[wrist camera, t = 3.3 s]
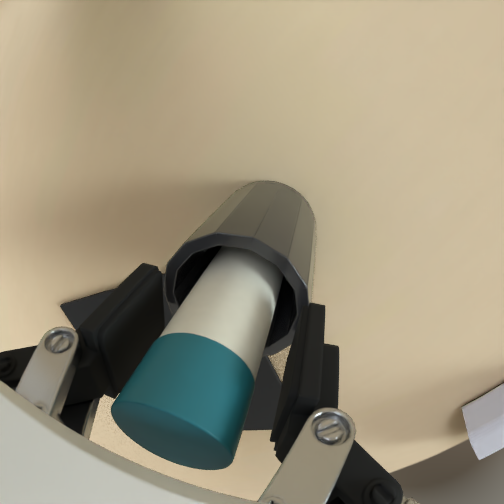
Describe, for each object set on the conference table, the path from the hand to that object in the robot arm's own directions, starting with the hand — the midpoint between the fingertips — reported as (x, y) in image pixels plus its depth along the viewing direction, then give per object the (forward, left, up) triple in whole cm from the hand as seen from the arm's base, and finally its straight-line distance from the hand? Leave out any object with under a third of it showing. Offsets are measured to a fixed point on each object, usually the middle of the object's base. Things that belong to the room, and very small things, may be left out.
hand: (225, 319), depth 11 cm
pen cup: (0, 0, -9) cm, 9 cm away
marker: (0, 0, -8) cm, 8 cm away
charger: (+25, +21, -9) cm, 34 cm away
